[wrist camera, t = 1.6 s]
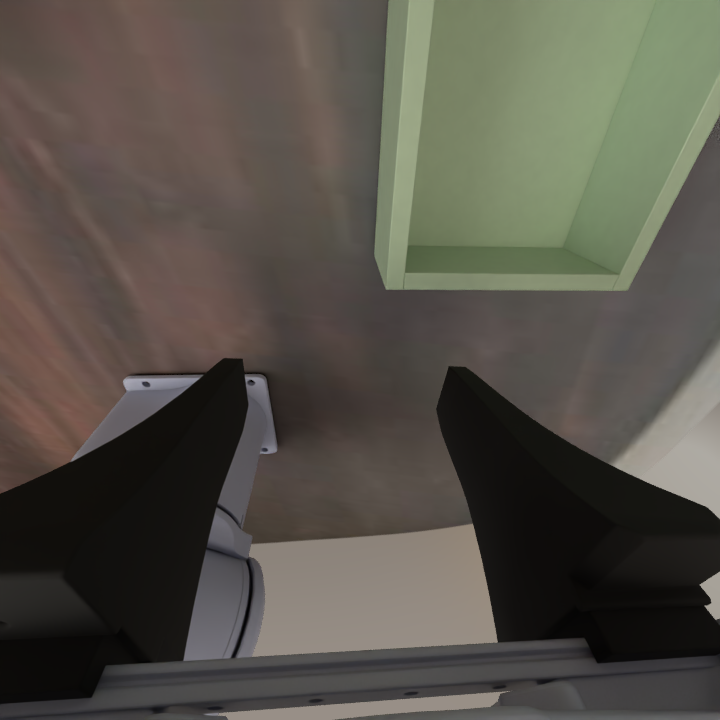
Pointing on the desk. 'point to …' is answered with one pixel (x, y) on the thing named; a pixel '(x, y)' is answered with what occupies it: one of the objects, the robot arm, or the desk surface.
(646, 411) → the desk surface
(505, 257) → the storage bin
